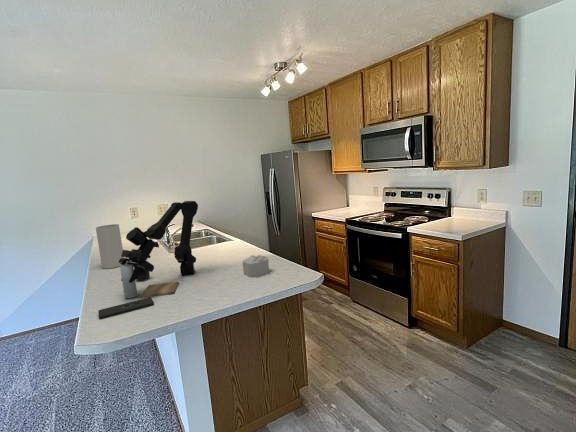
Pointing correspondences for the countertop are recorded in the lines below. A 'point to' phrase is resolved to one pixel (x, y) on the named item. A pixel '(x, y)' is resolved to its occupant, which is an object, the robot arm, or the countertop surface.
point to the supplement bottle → (144, 276)
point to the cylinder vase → (109, 245)
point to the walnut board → (160, 289)
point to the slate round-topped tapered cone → (128, 287)
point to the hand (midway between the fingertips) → (125, 281)
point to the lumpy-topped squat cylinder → (255, 266)
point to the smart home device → (125, 308)
